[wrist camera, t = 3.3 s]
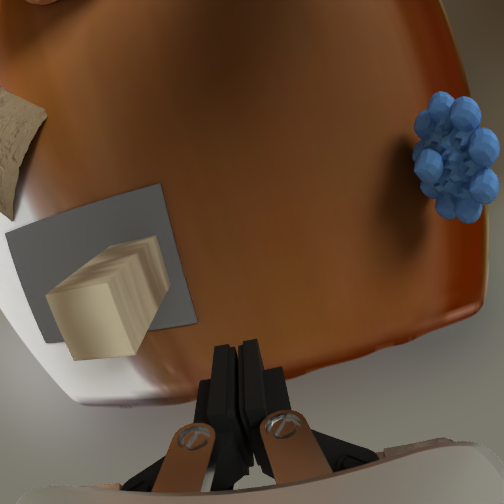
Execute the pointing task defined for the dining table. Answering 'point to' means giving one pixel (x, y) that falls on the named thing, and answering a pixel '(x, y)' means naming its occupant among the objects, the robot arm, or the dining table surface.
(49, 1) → the bread
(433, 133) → the grapes
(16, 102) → the clay tablet
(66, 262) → the rubber mat
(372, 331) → the dining table surface
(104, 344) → the birch block
